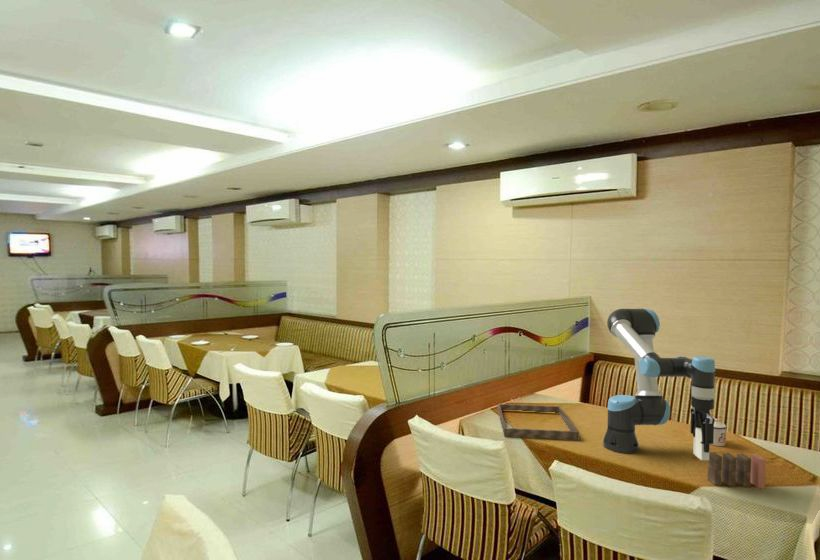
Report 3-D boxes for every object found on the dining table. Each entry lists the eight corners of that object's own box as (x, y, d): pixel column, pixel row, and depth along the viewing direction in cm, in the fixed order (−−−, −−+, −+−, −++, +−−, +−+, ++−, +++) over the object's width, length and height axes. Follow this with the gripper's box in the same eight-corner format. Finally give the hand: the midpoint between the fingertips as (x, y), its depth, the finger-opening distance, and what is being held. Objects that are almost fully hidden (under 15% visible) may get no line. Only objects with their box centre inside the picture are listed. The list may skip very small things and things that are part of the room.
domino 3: (728, 486, 180) (729, 457, 179) (721, 480, 185) (722, 452, 184) (735, 486, 179) (736, 458, 179) (728, 480, 184) (729, 453, 184)
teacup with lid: (722, 448, 218) (723, 423, 218) (700, 442, 225) (701, 418, 225) (730, 442, 226) (731, 418, 226) (709, 436, 233) (709, 413, 233)
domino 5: (758, 488, 179) (759, 459, 178) (750, 482, 184) (750, 454, 183) (764, 488, 178) (765, 459, 178) (756, 482, 183) (757, 454, 183)
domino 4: (743, 487, 179) (744, 458, 179) (735, 481, 184) (736, 453, 184) (750, 487, 179) (751, 458, 179) (742, 481, 184) (743, 453, 184)
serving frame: (504, 436, 230) (504, 428, 229) (497, 410, 271) (497, 403, 271) (578, 440, 226) (578, 432, 226) (560, 413, 268) (560, 406, 267)
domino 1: (701, 460, 180) (701, 431, 180) (694, 455, 185) (695, 427, 185) (707, 460, 180) (708, 431, 180) (701, 455, 185) (701, 427, 185)
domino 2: (714, 485, 180) (715, 457, 180) (707, 479, 185) (708, 451, 185) (721, 485, 180) (722, 457, 180) (714, 480, 185) (714, 452, 185)
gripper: (725, 404, 173) (724, 467, 173) (701, 391, 191) (699, 448, 191) (704, 403, 174) (702, 466, 174) (681, 391, 192) (680, 447, 192)
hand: (701, 456), depth 183 cm, fingers closed on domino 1, 5 cm apart
